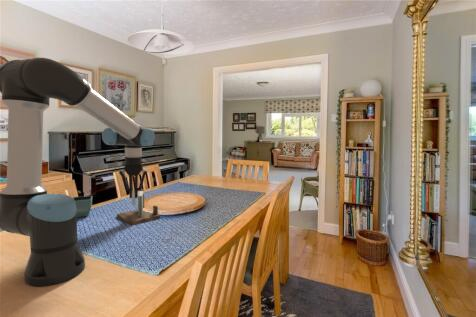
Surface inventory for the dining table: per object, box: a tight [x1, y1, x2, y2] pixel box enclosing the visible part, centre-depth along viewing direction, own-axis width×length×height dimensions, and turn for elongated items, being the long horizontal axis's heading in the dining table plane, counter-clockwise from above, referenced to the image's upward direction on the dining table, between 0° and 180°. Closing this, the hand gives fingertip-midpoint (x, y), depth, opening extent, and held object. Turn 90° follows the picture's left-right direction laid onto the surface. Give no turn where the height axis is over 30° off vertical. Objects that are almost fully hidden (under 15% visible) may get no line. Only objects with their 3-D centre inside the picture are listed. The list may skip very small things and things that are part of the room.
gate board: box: [116, 188, 161, 226], centre depth 131 cm, size 15×16×12 cm
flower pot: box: [72, 195, 93, 218], centre depth 133 cm, size 9×9×9 cm
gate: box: [137, 190, 145, 216], centre depth 132 cm, size 10×2×10 cm, turn 15°
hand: (133, 204), depth 129 cm, fingers closed
